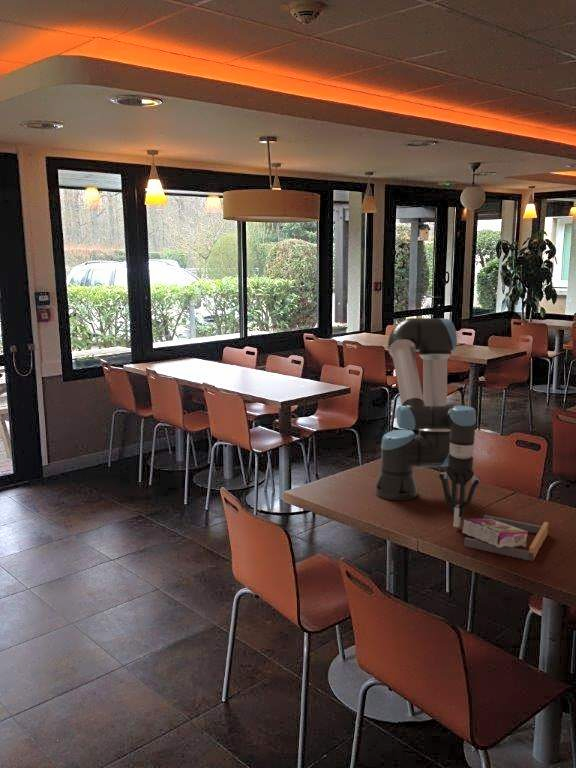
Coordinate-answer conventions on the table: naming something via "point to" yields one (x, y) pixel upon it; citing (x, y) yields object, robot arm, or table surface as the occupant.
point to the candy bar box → (495, 533)
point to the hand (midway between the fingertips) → (456, 525)
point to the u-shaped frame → (511, 551)
